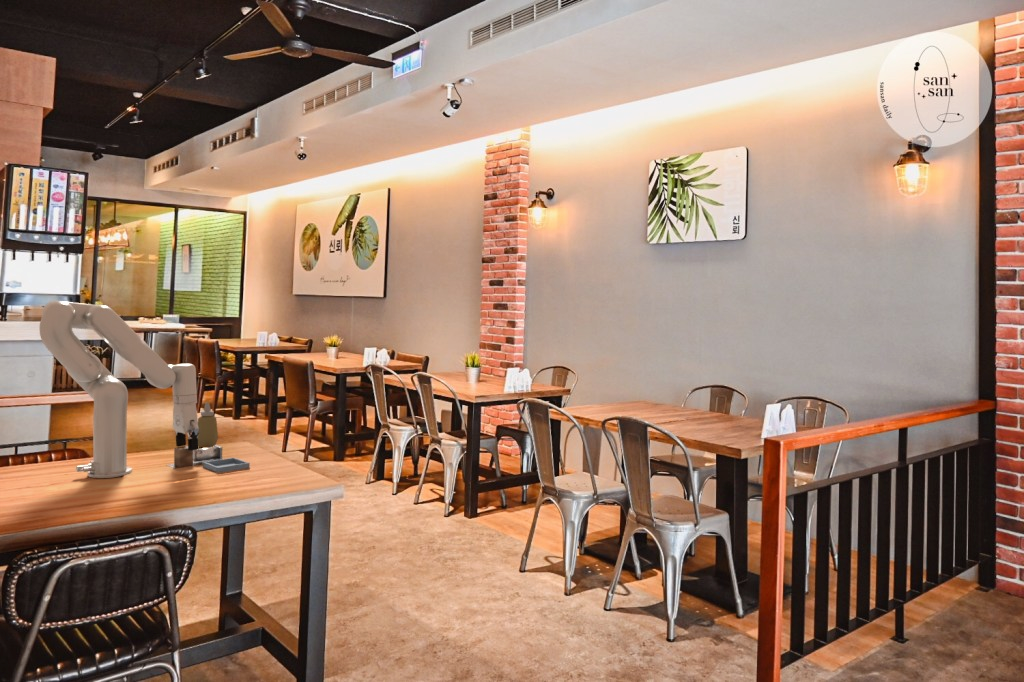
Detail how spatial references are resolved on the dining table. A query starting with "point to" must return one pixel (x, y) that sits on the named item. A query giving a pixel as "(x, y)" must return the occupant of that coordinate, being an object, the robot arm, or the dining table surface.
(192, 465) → the rail
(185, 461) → the block
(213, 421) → the squeeze bottle
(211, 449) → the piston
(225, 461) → the tray
